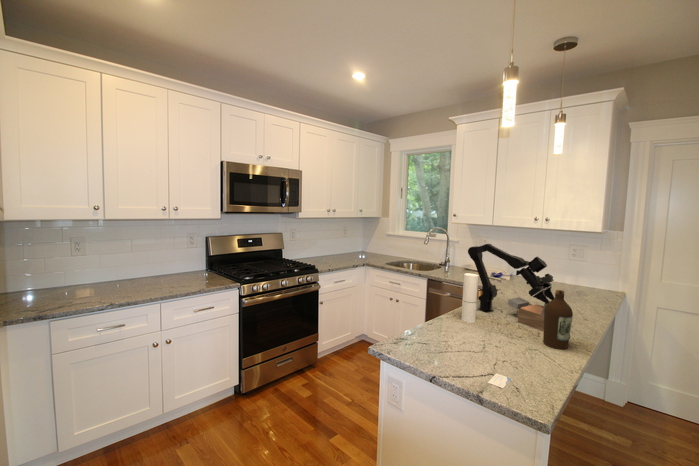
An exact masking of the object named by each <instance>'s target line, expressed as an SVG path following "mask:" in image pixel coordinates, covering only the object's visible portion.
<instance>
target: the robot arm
mask: <svg viewBox="0 0 699 466" xmlns="http://www.w3.org/2000/svg"><path fill="white" fill-rule="evenodd" d="M486 252H488V253H489V254H492V255H493V256H495V257H498V258H499V259H501V260H504V261H505V262H506V263H507V264H508V265H509V267H512V269H515V270H516V271H515V276H516V277H517V276H521V277H522V278H523V279H524V281H526V282H525V283H526V285H529V286H530V287H531V289H529V291H528V294H529V296H530V297H533V298H535V299H537V300H539V301H541V302H543V303H544V304H545V303H546V304H547V303H549V301H552V300H553V299H554V298H555V295H554V294H553V292H552V282H554V279H553V278H554V276H553V275H552V274H550V273H546V274H544V276H542V277H541V276H540V275H536V273H540V272H541V271H543V270H544V269H546V268H547V267H548V264H547V263H546V262H545V260H542V258H540V257H539V256H536V257H534V258H533V259H532V260H530V261H528V260H525V259H524V258H523V257H519V256H516V255H512V254H509V253H507V251H504V250H502V249H500V248H498V247H496V246H495V245H493V244H491V243H485V244H483V245H480V246H478V245H476V246H470V247H469V248H468V249H467V253H468V255H469V257H470V259H471V260H472V261H473V263H474V264H475V268H476V270H477V273H478V274H477V275H478V278H479V279H480V281H481V285H482V286H481V291H482V294H481V295H479V296H478V300H479V302H480V303H479V307H478V308H477V310H479V311H481V312H484V313H491V312H494V309H492V307H493V302H492V301H493V300H494V299H495V298H497V295H498V289H497V286H496V284H494V285H493V284H492V283H491V280H490V277H489V275H488V272H487V269H486V266H485V264H484V261H483V253H486ZM519 269H520V270H519Z"/></svg>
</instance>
